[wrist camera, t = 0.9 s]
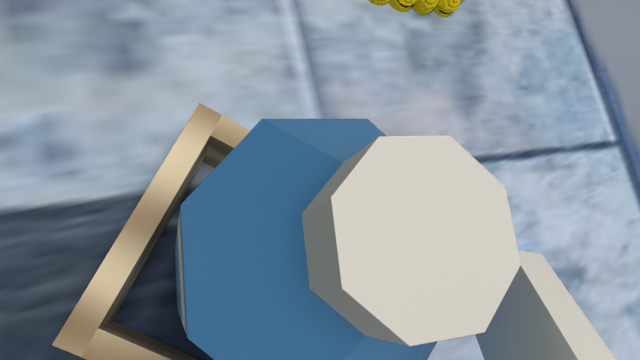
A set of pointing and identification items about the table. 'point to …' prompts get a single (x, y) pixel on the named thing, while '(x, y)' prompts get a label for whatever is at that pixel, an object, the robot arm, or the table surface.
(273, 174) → the water bottle
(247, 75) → the table surface
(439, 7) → the door knocker
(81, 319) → the holder collar
